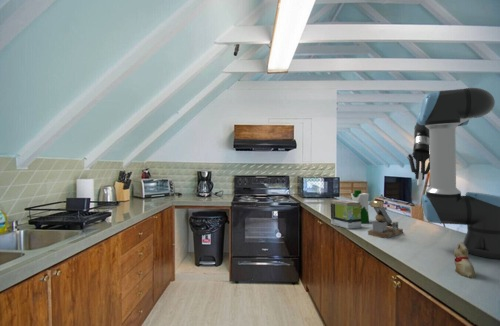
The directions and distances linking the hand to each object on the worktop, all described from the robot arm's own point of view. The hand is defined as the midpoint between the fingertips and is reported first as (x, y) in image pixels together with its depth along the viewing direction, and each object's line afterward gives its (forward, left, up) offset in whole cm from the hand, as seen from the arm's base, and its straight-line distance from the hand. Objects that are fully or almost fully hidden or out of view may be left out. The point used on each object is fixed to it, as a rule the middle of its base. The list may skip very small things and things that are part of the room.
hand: (419, 184), depth 137 cm
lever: (-3, +17, -21) cm, 27 cm away
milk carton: (+23, +25, -25) cm, 42 cm away
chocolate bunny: (-55, +11, -25) cm, 62 cm away
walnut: (-10, +23, -18) cm, 30 cm away
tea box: (+12, +36, -25) cm, 45 cm away
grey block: (-10, +23, -23) cm, 34 cm away
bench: (-6, +19, -25) cm, 32 cm away
